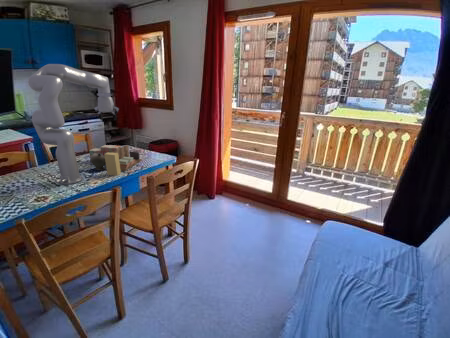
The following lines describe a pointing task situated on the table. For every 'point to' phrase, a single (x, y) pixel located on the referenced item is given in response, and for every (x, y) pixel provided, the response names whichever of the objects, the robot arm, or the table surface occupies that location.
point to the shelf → (125, 154)
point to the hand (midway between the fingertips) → (108, 119)
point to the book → (112, 164)
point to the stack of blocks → (104, 149)
